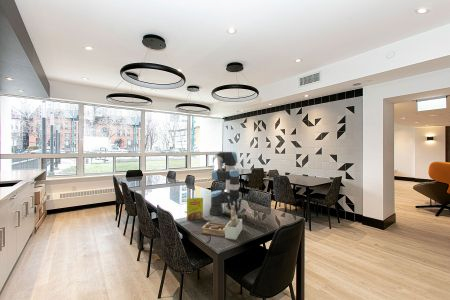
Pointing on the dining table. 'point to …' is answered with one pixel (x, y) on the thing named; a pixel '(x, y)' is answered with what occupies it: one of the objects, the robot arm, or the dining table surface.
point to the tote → (233, 230)
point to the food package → (194, 208)
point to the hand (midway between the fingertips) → (234, 218)
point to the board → (233, 216)
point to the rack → (206, 229)
